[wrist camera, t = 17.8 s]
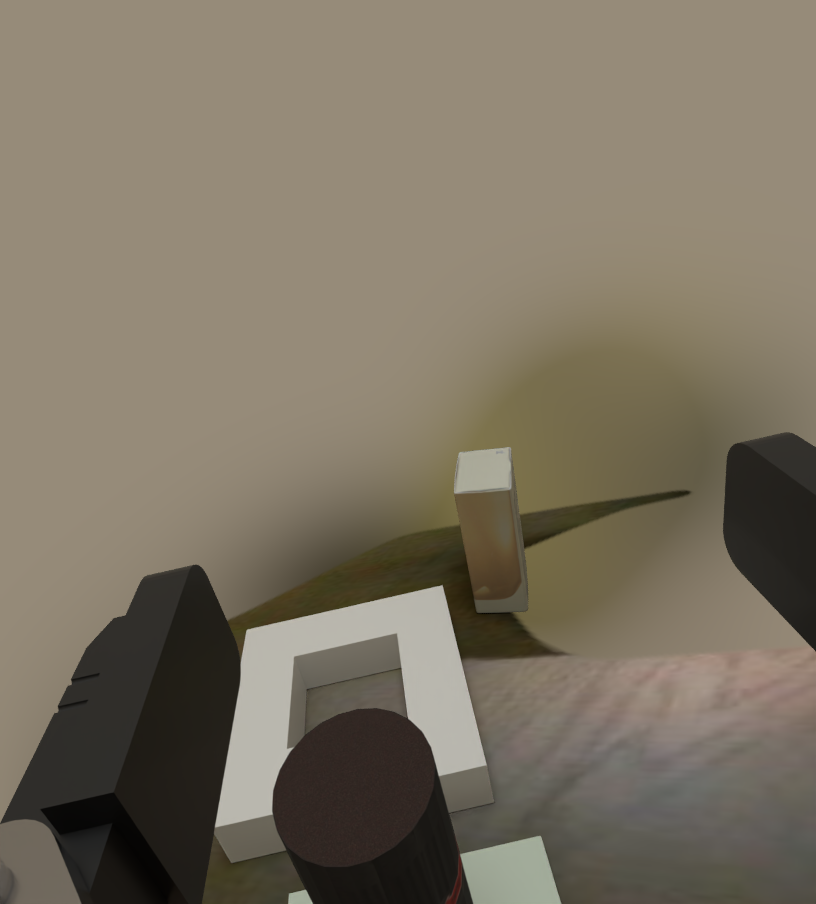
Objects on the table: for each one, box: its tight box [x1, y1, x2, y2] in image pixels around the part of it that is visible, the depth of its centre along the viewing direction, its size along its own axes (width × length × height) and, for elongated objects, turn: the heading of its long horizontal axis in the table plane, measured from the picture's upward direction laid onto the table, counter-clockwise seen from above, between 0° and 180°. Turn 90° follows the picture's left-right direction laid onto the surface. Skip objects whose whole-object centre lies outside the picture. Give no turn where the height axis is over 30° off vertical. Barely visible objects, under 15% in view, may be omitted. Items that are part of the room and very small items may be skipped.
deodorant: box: [272, 708, 473, 904], centre depth 25 cm, size 6×6×15 cm
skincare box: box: [454, 447, 528, 613], centre depth 50 cm, size 6×4×12 cm
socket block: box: [214, 586, 494, 863], centre depth 43 cm, size 16×16×4 cm
